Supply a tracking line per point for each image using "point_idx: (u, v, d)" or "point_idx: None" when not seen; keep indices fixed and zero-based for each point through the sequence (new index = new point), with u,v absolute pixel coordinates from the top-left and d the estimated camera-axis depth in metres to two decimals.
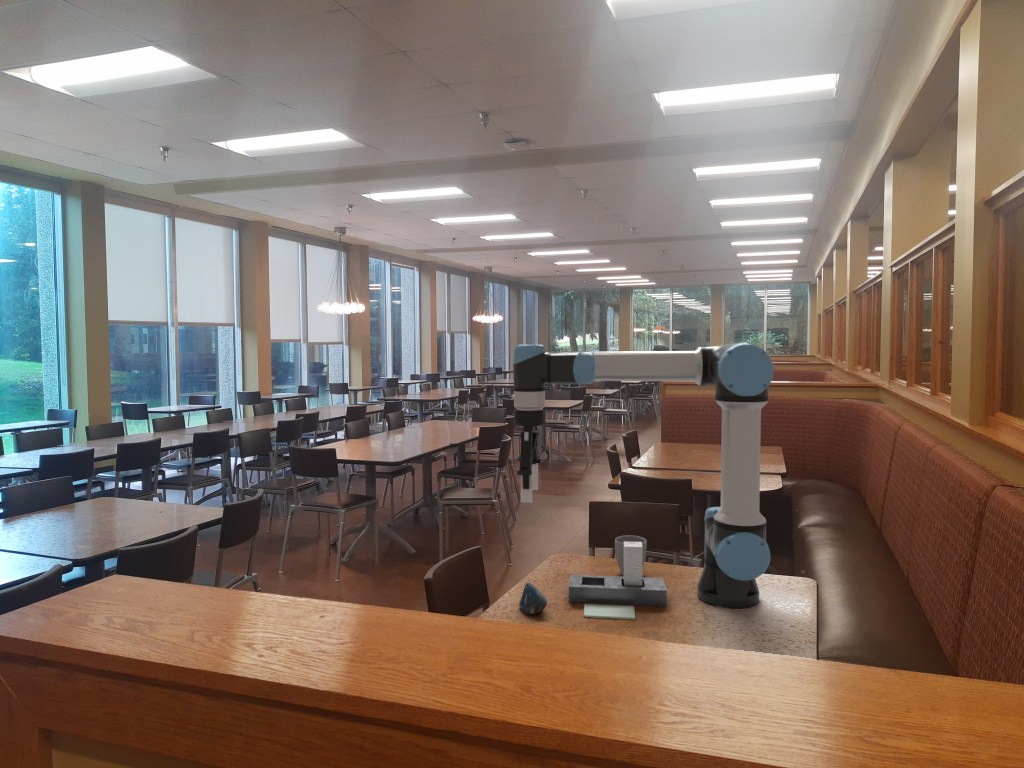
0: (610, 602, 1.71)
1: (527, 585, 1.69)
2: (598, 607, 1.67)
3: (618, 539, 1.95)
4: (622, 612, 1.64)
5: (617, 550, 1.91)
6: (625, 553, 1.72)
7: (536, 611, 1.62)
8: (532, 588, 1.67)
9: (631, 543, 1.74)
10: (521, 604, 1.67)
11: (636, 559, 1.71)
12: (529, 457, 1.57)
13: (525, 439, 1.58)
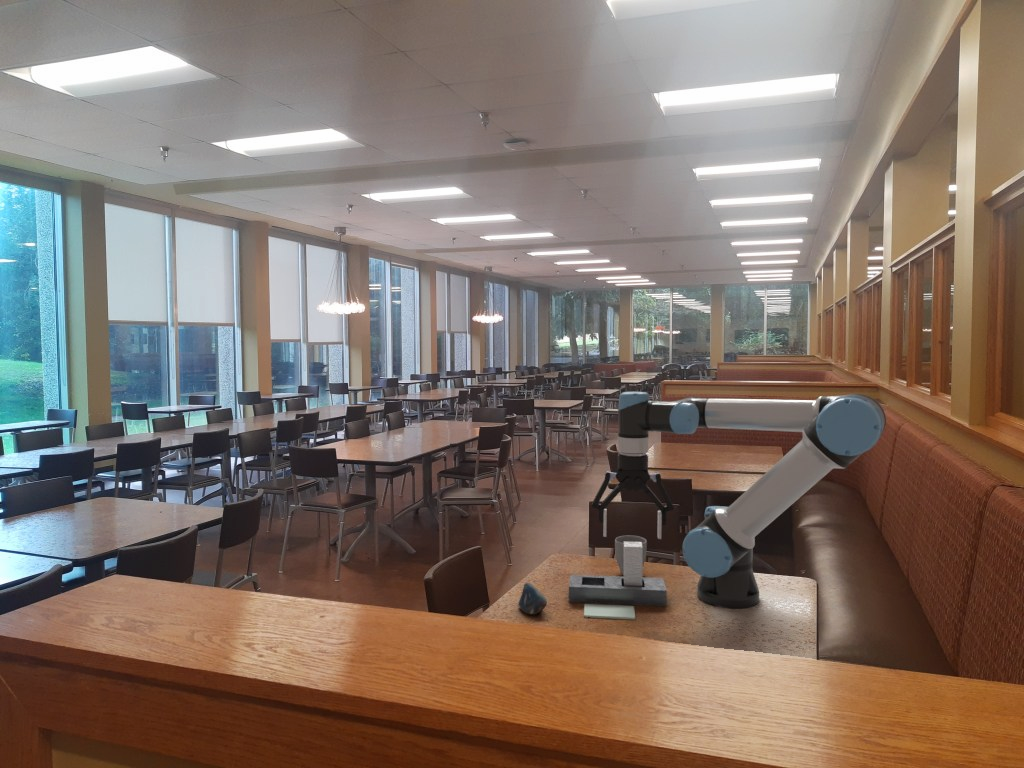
0: (610, 602, 1.71)
1: (526, 585, 1.69)
2: (598, 607, 1.67)
3: (618, 539, 1.95)
4: (622, 612, 1.64)
5: (617, 550, 1.91)
6: (625, 553, 1.72)
7: (536, 611, 1.62)
8: (531, 588, 1.67)
9: (631, 543, 1.74)
10: (520, 604, 1.66)
11: (636, 559, 1.71)
12: (597, 493, 1.73)
13: (605, 478, 1.74)
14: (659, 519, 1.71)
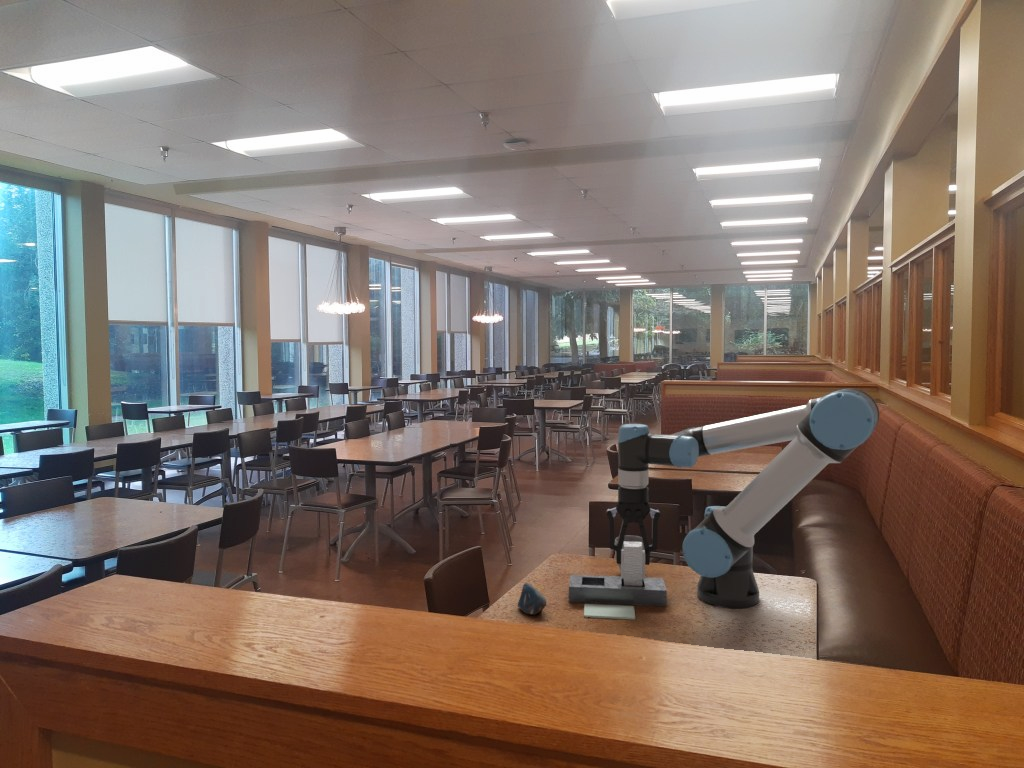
0: (610, 602, 1.71)
1: (525, 586, 1.69)
2: (598, 607, 1.67)
3: None
4: (622, 612, 1.64)
5: None
6: (625, 553, 1.72)
7: (536, 611, 1.62)
8: (531, 588, 1.67)
9: (631, 543, 1.74)
10: (520, 605, 1.66)
11: (636, 559, 1.71)
12: (609, 534, 1.73)
13: None
14: (643, 559, 1.72)
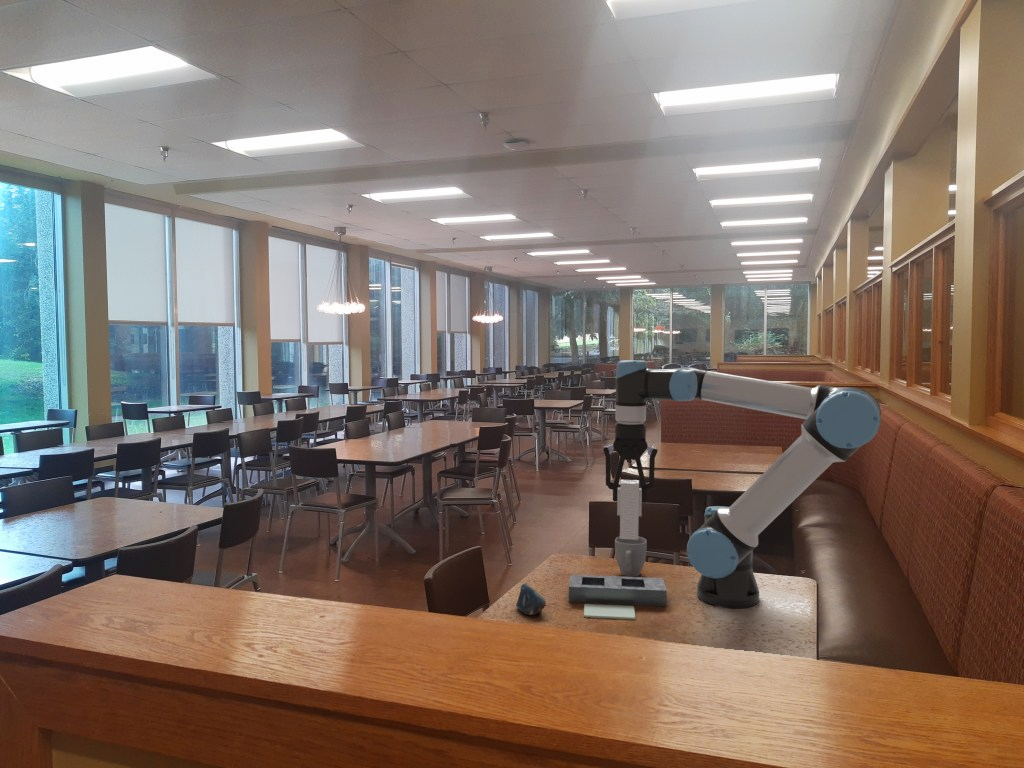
0: (610, 602, 1.71)
1: (524, 586, 1.68)
2: (598, 607, 1.67)
3: (618, 539, 1.95)
4: (622, 612, 1.64)
5: (617, 550, 1.91)
6: (621, 490, 1.70)
7: (536, 612, 1.62)
8: (530, 589, 1.66)
9: (628, 481, 1.72)
10: (519, 605, 1.66)
11: (632, 496, 1.69)
12: None
13: None
14: (639, 496, 1.70)
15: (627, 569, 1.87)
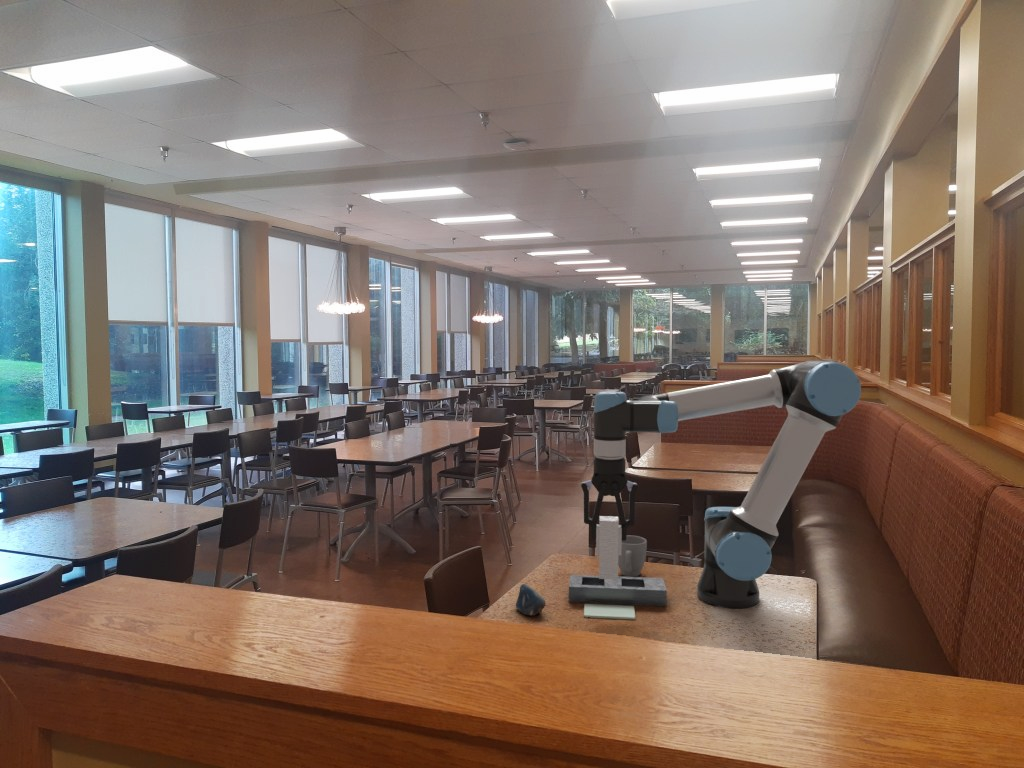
0: (610, 602, 1.71)
1: (523, 586, 1.68)
2: (598, 607, 1.67)
3: None
4: (622, 612, 1.64)
5: None
6: (600, 528, 1.62)
7: (535, 612, 1.62)
8: (529, 589, 1.66)
9: (607, 518, 1.64)
10: (518, 606, 1.65)
11: (612, 534, 1.62)
12: None
13: None
14: (619, 534, 1.62)
15: (627, 569, 1.87)
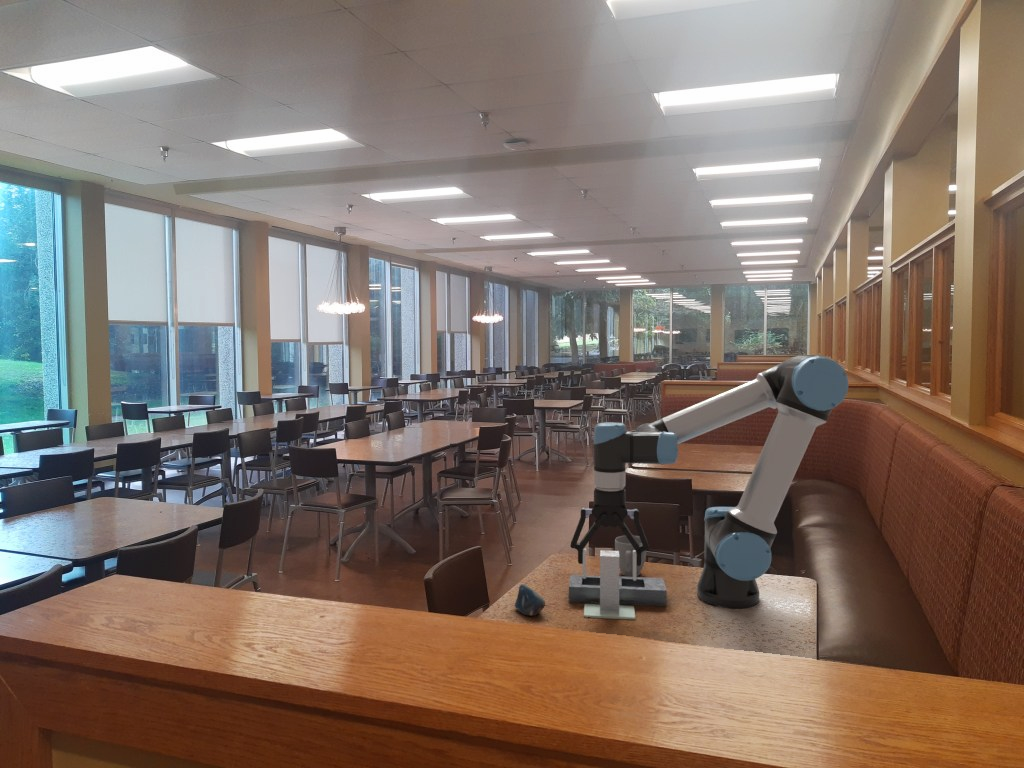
0: None
1: (522, 587, 1.68)
2: (598, 607, 1.67)
3: (618, 539, 1.95)
4: (622, 612, 1.64)
5: (617, 550, 1.91)
6: (601, 563, 1.62)
7: (535, 612, 1.61)
8: (528, 589, 1.66)
9: (607, 553, 1.65)
10: (518, 606, 1.65)
11: (612, 569, 1.62)
12: (575, 532, 1.64)
13: None
14: (634, 560, 1.62)
15: (627, 569, 1.87)
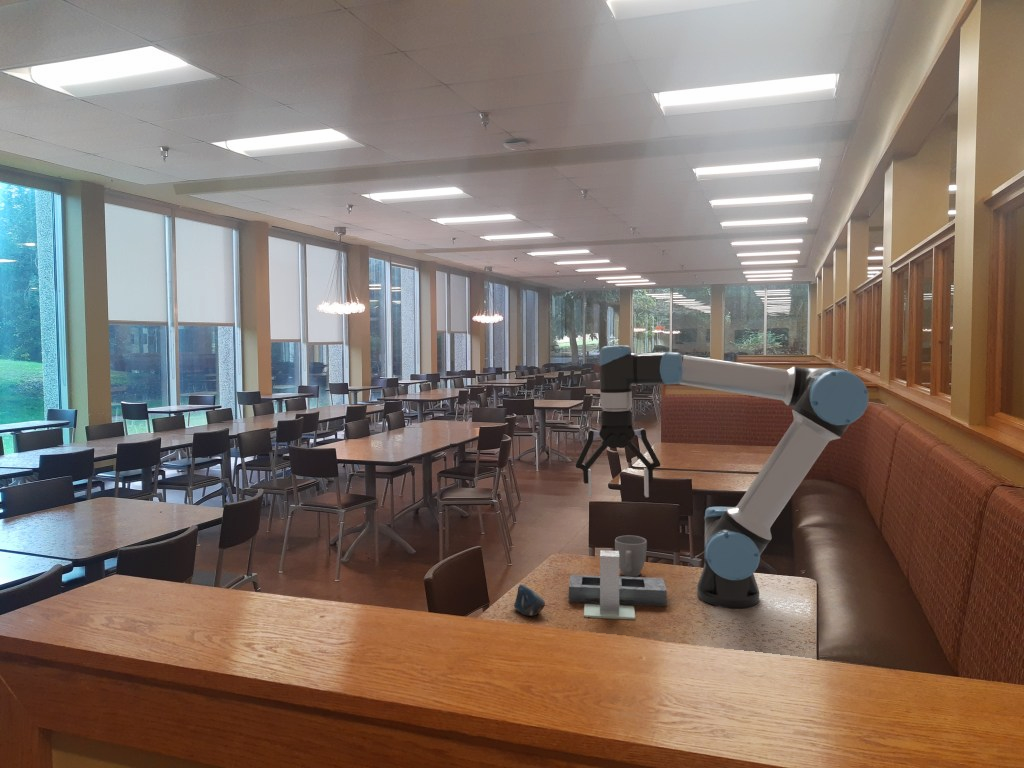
0: None
1: (522, 587, 1.68)
2: (598, 607, 1.67)
3: (618, 539, 1.95)
4: (622, 612, 1.64)
5: (617, 550, 1.91)
6: (601, 563, 1.62)
7: (535, 613, 1.61)
8: (528, 590, 1.66)
9: (607, 553, 1.65)
10: (517, 607, 1.65)
11: (612, 569, 1.62)
12: (581, 453, 1.66)
13: None
14: (646, 476, 1.65)
15: (627, 569, 1.87)
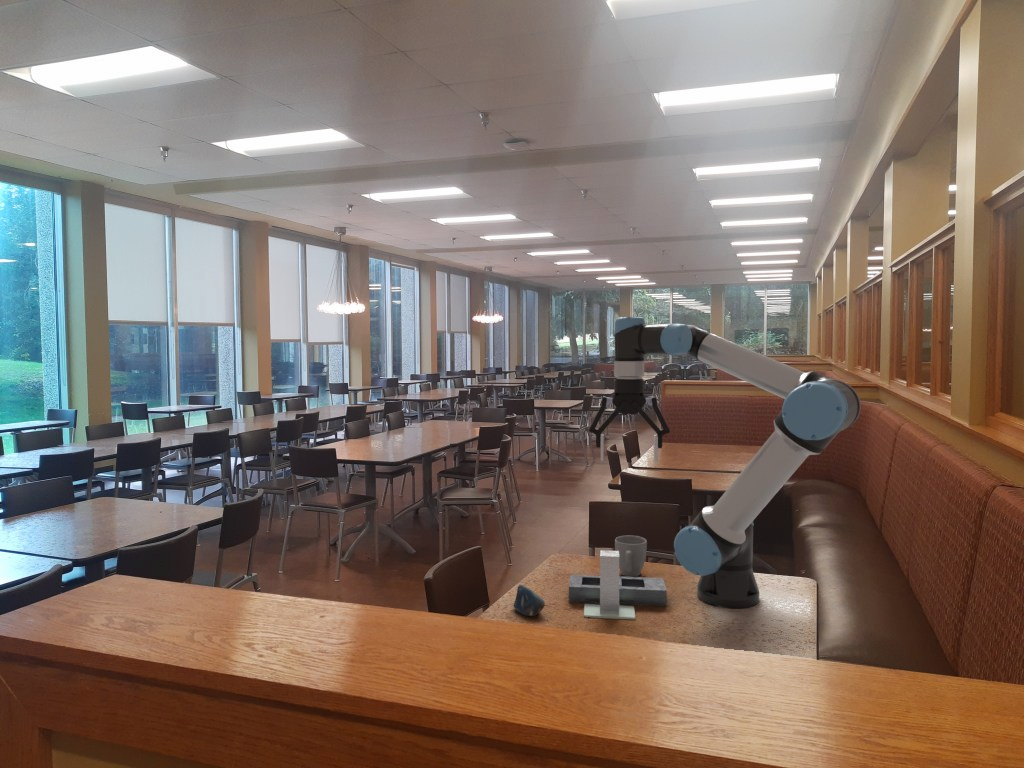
0: None
1: (521, 587, 1.67)
2: (598, 607, 1.67)
3: (618, 539, 1.95)
4: (622, 612, 1.64)
5: (617, 550, 1.91)
6: (601, 563, 1.62)
7: (535, 613, 1.61)
8: (527, 590, 1.66)
9: (607, 553, 1.65)
10: (517, 607, 1.65)
11: (612, 569, 1.62)
12: (594, 418, 1.75)
13: None
14: (655, 442, 1.73)
15: (627, 569, 1.87)
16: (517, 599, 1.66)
